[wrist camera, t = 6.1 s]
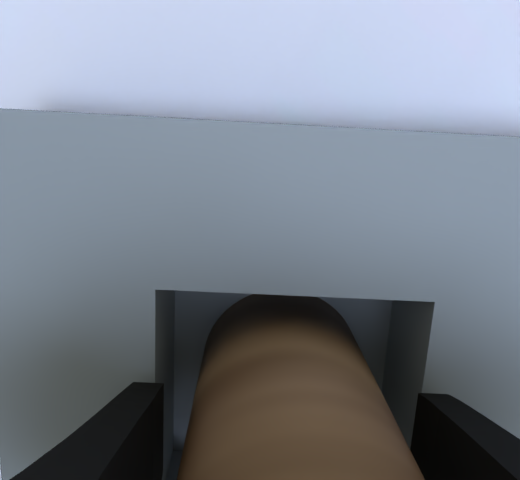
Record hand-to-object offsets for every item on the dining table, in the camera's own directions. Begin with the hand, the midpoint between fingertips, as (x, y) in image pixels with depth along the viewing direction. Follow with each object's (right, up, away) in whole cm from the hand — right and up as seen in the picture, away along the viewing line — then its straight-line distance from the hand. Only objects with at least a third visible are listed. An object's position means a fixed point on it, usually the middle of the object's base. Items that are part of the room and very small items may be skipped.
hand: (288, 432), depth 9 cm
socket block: (0, +1, +3) cm, 3 cm away
